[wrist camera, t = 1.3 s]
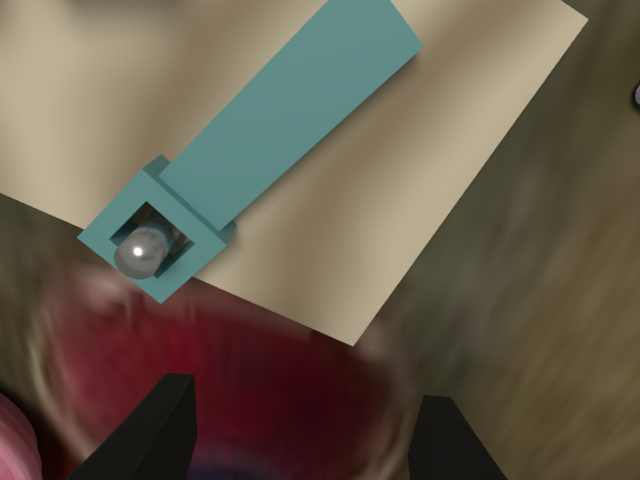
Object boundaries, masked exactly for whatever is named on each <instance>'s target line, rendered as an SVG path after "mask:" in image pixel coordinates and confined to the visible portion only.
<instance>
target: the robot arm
mask: <svg viewBox="0 0 640 480" xmlns="http://www.w3.org/2000/svg"><path fill="white" fill-rule="evenodd" d="M635 99H636V102H637V103H638V104H639V105H640V85H639V87H638V89H637V90H636V94H635ZM196 439H197V423H196V402H195V381H194V375H189V374H178V373H167V374H165V375H164V376H163V377H162V378H161V379H160V380H159V382H158V383H157V384H156V385H155V386H154V387H153V389H152V390H151V391H150V392H149V393H148V394H147V395H146V397H145V398H144V399H143V400H142V401H141V402H140V403H139V404H138V406H137V407H136V408H135V409H134V410H133V411H132V412H131V413H130V414H129V416H128V417H127V418H126V419H125V420H124V421H123V422H122V423H121V424H120V425H119V426H118V427H117V428H116V429H115V430H114V432H113V433H112V434H111V435H110V436H109V437H108V438H107V439H106V440H105V441H104V442H103V443H102V444H101V445H100V446H99V447H98V448H97V449H96V450H95V451H94V452H93V453H92V454H91V455H90V456H89V457H88V458H87V459H86V460H85V461H84V462H83V463H82V464H81V465H80V466H79V467H78V468H77V469H76V470H75V471H74V472H73V473H72V474H71V475H70V476H69V477H68V478H66V479H65V480H186V477H187V474H188V470H189V466H190V462H191V459H192V455H193V451H194V447H195V443H196ZM408 461H409V471H410V480H508V479H507V478H506V477H505V475H504V474H503V473H502V471H501V470H500V468H499V467H498V466H497V464H496V463H495V462H494V460H493V459H492V457H491V456H490V455H489V453H488V452H487V450H486V449H485V447H484V446H483V444H482V443H481V442H480V440H479V439H478V437H477V436H476V434H475V433H474V431H473V430H472V428H471V427H470V425H469V424H468V422H467V421H466V420H465V418H464V417H463V415H462V414H461V412H460V411H459V409H458V408H457V406H456V405H455V403H454V402H453V400H452V399H451V398H450V397H440V396H429V395H424V398H423V401H422V405H421V408H420V412H419V416H418V419H417V423H416V426H415V430H414V434H413V437H412V441H411V445H410V448H409V452H408Z"/></svg>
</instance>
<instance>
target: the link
mask: <svg viewBox="0 0 640 480" xmlns="http://www.w3.org/2000/svg"><path fill="white" fill-rule="evenodd" d="M423 47H424V45H423V44H422V43H421V41H420V40H419V39H418V37H417V36H416V34H415V33H414V32H413V30H412V29H411V28H410V26H409V25H408V24H407V22H406V21H405V19H404V18H403V17H402V15H401V14H400V13H399V11H398V10H397V9H396V7H395V6H394V5H393V3H392V2H391V0H328V1H327V2H326V3H325V4H324V5H323V6H322V7H321V8H320V9H319V10H318V11H317V12H316V13H315V14H314V15H313V16H312V17H311V18H310V19H309V20H308V21H307V22H306V23H305V24H304V25H303V27H302V28H301V29H300V30H299V31H298V32H297V33H296V34H295V35H294V36H293V37H292V38H291V39H290V40H289V41H288V42H287V43H286V44H285V45H284V46H283V47H282V48H281V49H280V50H279V51H278V52H277V53H276V54H275V55H274V57H273V58H272V59H271V60H270V61H269V62H268V63H267V64H266V65H265V66H264V67H263V68H262V69H261V70H260V71H259V72H258V73H257V74H256V75H255V76H254V77H253V78H252V79H251V80H250V81H249V82H248V83H247V84H246V85H245V87H244V88H243V89H242V90H241V91H240V92H239V93H238V94H237V95H236V96H235V97H234V98H233V99H232V100H231V101H230V102H229V103H228V104H227V105H226V106H225V107H224V108H223V109H222V110H221V111H220V112H219V113H218V114H217V115H216V116H215V118H214V119H213V120H212V121H211V122H210V123H209V124H208V125H207V126H206V127H205V128H204V129H203V130H202V131H201V132H200V133H199V134H198V135H197V136H196V137H195V138H194V139H193V140H192V141H191V142H190V143H189V144H188V145H187V146H186V148H185V149H184V150H183V151H182V152H181V153H180V154H179V155H178V156H177V157H176V158H175V159H174V160H173V161H172V162H171V163H170V162H169V161H168V160H167V159H166V158H164V157H163V156H162V155H159V156H158V157H157V158H155V159H154V160H153V161H151V162H150V163H149V164H147V165H146V166H145V167H143V168H142V169H141V170H140V171H139V172H138V173H137V174H136V175H135V176H134V177H133V179H132V180H131V181H130V182H129V183H128V184H127V185H126V186H125V187H124V188H123V189H122V190H121V191H120V192H119V193H118V194H117V196H116V197H115V198H114V199H113V200H112V201H111V202H110V203H109V204H108V205H107V206H106V207H105V208H104V209H103V210H102V212H101V213H100V214H99V215H98V216H97V217H96V218H95V219H94V220H93V221H92V222H91V223H90V224H89V225H88V226H87V227H86V229H85V230H84V231H83V232H82V233H81V234H80V235H79V236H78V237H77V238H78V239H79V240H81V241H82V242H83V243H84V244H86V245H87V246H88V247H89V248H91V249H92V250H93V251H95V252H96V253H97V254H98V255H100V256H101V257H102V258H103V259H105V260H106V261H107V262H109V263H110V264H111V265H112V266H114V267H115V268H116V269H117V270H119V269H118V268H117V266H116V265H115V262H114V253H115V250H116V249H117V248H118V247H119V246H120V245H121V243H122V242H123V241H124V240H125V239H126V238H127V237H128V236H129V235H130V234H131V233H132V232H133V231H134V230H135V229H136V228H137V227H138V226H137V225H136V224H135V223H134V222H133V221H131V220H130V218H131V217H132V216H133V215H134V214H135V213H136V212H137V211H138V210H139V209H140V208H141V207H142V206H143V205H144V204H145V203H146V202H148V203H149V204H150V205H152V206H153V207H154V208H155V209H156V210H157V211H158V212H160V213H161V214H162V215H163V216H164V217H165V218H166V219H168V220H169V221H170V222H171V223H172V224H173V225H174V226H176V227H177V228H178V229H179V230H180V231H181V232H182V233H184V234H185V235H186V236H187V237H188V238H189V239H190V241H189V242H188V243H186V244H185V245H184V246H183V247H182V248H181V249H180V250H179V251H178V252H177V253H176V254H175V255H172V254H170V253H168V255H167V256H166V257H165V259H164V260H163V262H162V263H161V264H160V266H159V267H158V269H157V270H156V271H155V273H154V274H153V275H152V276H151V277H149V278H147V279H142V280H137V279H132V278H129V277H128V278H129V279H130V280H131V281H133V282H134V283H135V284H136V285H138V286H139V287H140V288H141V289H143V290H144V291H145V292H147V293H148V294H149V295H150V296H152V297H153V298H154V299H155V300H157V301H158V302H159V303H160V304H161V303H162V302H163V301H165V300H166V299H167V298H168V297H169V296H170V295H171V294H173V293H174V292H175V291H176V290H177V289H178V288H179V287H180V286H182V285H183V284H184V283H185V282H186V281H187V280H188V279H190V278H191V277H192V276H193V275H194V274H195V273H196V272H198V271H199V270H200V269H201V268H202V267H203V266H204V265H205V264H207V263H208V262H209V261H210V260H211V259H212V258H213V257H215V256H216V255H217V254H218V253H219V252H220V251H221V250H222V249H224V248H225V247H226V246H227V245H228V242H229V240H230V238H231V236H232V234H233V232H234V230H235V228H236V226H237V224H236V223H234V222H233V221H232V219H233V218H234V217H236V216H237V215H238V214H239V213H240V212H241V211H242V210H243V209H244V208H246V207H247V206H248V205H249V204H250V203H251V202H252V201H253V200H254V199H255V198H257V197H258V196H259V195H260V194H261V193H262V192H263V191H264V190H265V189H267V188H268V187H269V186H270V185H271V184H272V183H273V182H274V181H275V180H277V179H278V178H279V177H280V176H281V175H282V174H283V173H284V172H285V171H286V170H288V169H289V168H290V167H291V166H292V165H293V164H294V163H295V162H296V161H298V160H299V159H300V158H301V157H302V156H303V155H304V154H305V153H306V152H307V151H309V150H310V149H311V148H312V147H313V146H314V145H315V144H316V143H317V142H319V141H320V140H321V139H322V138H323V137H324V136H325V135H326V134H327V133H329V132H330V131H331V130H332V129H333V128H334V127H335V126H336V125H337V124H338V123H340V122H341V121H342V120H343V119H344V118H345V117H346V116H347V115H348V114H350V113H351V112H352V111H353V110H354V109H355V108H356V107H357V106H358V105H359V104H361V103H362V102H363V101H364V100H365V99H366V98H367V97H368V96H369V95H371V94H372V93H373V92H374V91H375V90H376V89H377V88H378V87H379V86H380V85H382V84H383V83H384V82H385V81H386V80H387V79H388V78H389V77H390V76H392V75H393V74H394V73H395V72H396V71H397V70H398V69H399V68H400V67H402V66H403V65H404V64H405V63H406V62H407V61H408V60H409V59H410V58H411V57H413V56H414V55H415V54H416V53H417V52H418V51H419V50H420V49H421V48H423ZM121 273H122V272H121ZM122 274H123V273H122ZM125 276H126V275H125ZM126 277H127V276H126Z"/></svg>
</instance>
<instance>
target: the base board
mask: <svg viewBox="0 0 640 480" xmlns="http://www.w3.org/2000/svg"><path fill="white" fill-rule="evenodd" d="M327 1H328V0H0V193H2V194H4V195H7V196H9V197H11V198H14V199H16V200H18V201H20V202H23V203H25V204H27V205H30V206H32V207H34V208H37V209H39V210H41V211H43V212H46V213H48V214H50V215H53V216H55V217H57V218H60V219H62V220H64V221H66V222H69V223H71V224H73V225H76V226H78V227H80V228H83V229H86V227H87V226H88V225H89V224H90V223H91V222H92V221H93V220H94V219H95V218H96V217H97V216H98V215H99V214H100V213H101V212H102V210H103V209H104V208H105V207H106V206H107V205H108V204H109V203H110V202H111V201H112V200H113V199H114V198H115V197H116V196H117V194H118V193H119V192H120V191H121V190H122V189H123V188H124V187H125V186H126V185H127V184H128V183H129V182H130V181H131V180H132V179H133V177H134V176H135V175H136V174H137V173H138V172H139V171H140V170H141V169H142V168H143V167H145V166H146V165H147V164H149V163H150V162H151V161H153V160H154V159H155V158H157V157H158V156H159V155H162V156H163V157H164V158H166V159H167V160H168V161H169V162H170V163H171V162H172V161H173V160H174V159H175V158H176V157H177V156H178V155H179V154H180V153H181V152H182V151H183V150H184V149H185V148H186V146H187V145H188V144H189V143H190V142H191V141H192V140H193V139H194V138H195V137H196V136H197V135H198V134H199V133H200V132H201V131H202V130H203V129H204V128H205V127H206V126H207V125H208V124H209V123H210V122H211V121H212V120H213V119H214V118H215V116H216V115H217V114H218V113H219V112H220V111H221V110H222V109H223V108H224V107H225V106H226V105H227V104H228V103H229V102H230V101H231V100H232V99H233V98H234V97H235V96H236V95H237V94H238V93H239V92H240V91H241V90H242V89H243V88H244V87H245V85H246V84H247V83H248V82H249V81H250V80H251V79H252V78H253V77H254V76H255V75H256V74H257V73H258V72H259V71H260V70H261V69H262V68H263V67H264V66H265V65H266V64H267V63H268V62H269V61H270V60H271V59H272V58H273V57H274V55H275V54H276V53H277V52H278V51H279V50H280V49H281V48H282V47H283V46H284V45H285V44H286V43H287V42H288V41H289V40H290V39H291V38H292V37H293V36H294V35H295V34H296V33H297V32H298V31H299V30H300V29H301V28H302V27H303V25H304V24H305V23H306V22H307V21H308V20H309V19H310V18H311V17H312V16H313V15H314V14H315V13H316V12H317V11H318V10H319V9H320V8H321V7H322V6H323V5H324V4H325V3H326V2H327ZM391 2H392V3H393V5H394V6H395V7H396V9H397V10H398V11H399V13H400V14H401V15H402V17H403V18H404V19H405V21H406V22H407V24H408V25H409V26H410V28H411V29H412V30H413V32H414V33H415V34H416V36H417V37H418V39H419V40H420V41H421V43H422V44H423V45H424V47H423V48H421V49H420V50H419V51H418V52H417V53H416V54H415V55H414V56H413V57H411V58H410V59H409V60H408V61H407V62H406V63H405V64H404V65H403V66H402V67H400V68H399V69H398V70H397V71H396V72H395V73H394V74H393V75H392V76H390V77H389V78H388V79H387V80H386V81H385V82H384V83H383V84H382V85H380V86H379V87H378V88H377V89H376V90H375V91H374V92H373V93H372V94H371V95H369V96H368V97H367V98H366V99H365V100H364V101H363V102H362V103H361V104H359V105H358V106H357V107H356V108H355V109H354V110H353V111H352V112H351V113H350V114H348V115H347V116H346V117H345V118H344V119H343V120H342V121H341V122H340V123H338V124H337V125H336V126H335V127H334V128H333V129H332V130H331V131H330V132H329V133H327V134H326V135H325V136H324V137H323V138H322V139H321V140H320V141H319V142H317V143H316V144H315V145H314V146H313V147H312V148H311V149H310V150H309V151H307V152H306V153H305V154H304V155H303V156H302V157H301V158H300V159H299V160H298V161H296V162H295V163H294V164H293V165H292V166H291V167H290V168H289V169H288V170H286V171H285V172H284V173H283V174H282V175H281V176H280V177H279V178H278V179H277V180H275V181H274V182H273V183H272V184H271V185H270V186H269V187H268V188H267V189H265V190H264V191H263V192H262V193H261V194H260V195H259V196H258V197H257V198H255V199H254V200H253V201H252V202H251V203H250V204H249V205H248V206H247V207H246V208H244V209H243V210H242V211H241V212H240V213H239V214H238V215H237V216H236V217H234V218H233V219H232V221H233V222H234V223H236V224H237V226H236V228H235V230H234V232H233V234H232V236H231V238H230V240H229V242H228V245H227V246H226V247H225V248H224V249H222V250H221V251H220V252H219V253H218V254H217V255H216V256H215V257H213V258H212V259H211V260H210V261H209V262H208V263H207V264H205V265H204V266H203V267H202V268H201V269H200V270H199V271H198V272H196V273H195V274H194V275H193V277H195V278H197V279H200V280H202V281H204V282H207V283H209V284H211V285H213V286H216V287H218V288H220V289H223V290H225V291H227V292H230V293H232V294H234V295H236V296H239V297H241V298H243V299H246V300H248V301H250V302H252V303H255V304H257V305H259V306H262V307H264V308H266V309H269V310H271V311H273V312H275V313H278V314H280V315H282V316H285V317H287V318H289V319H292V320H294V321H296V322H298V323H301V324H303V325H305V326H308V327H310V328H312V329H315V330H317V331H319V332H321V333H324V334H326V335H328V336H331V337H333V338H335V339H337V340H340V341H342V342H344V343H347V344H349V345H351V346H354V344H355V343H356V342H357V340H358V339H359V337H360V336H361V335H362V333H363V332H364V330H365V329H366V328H367V326H368V325H369V324H370V322H371V321H372V319H373V318H374V317H375V315H376V314H377V312H378V311H379V310H380V308H381V307H382V305H383V304H384V303H385V301H386V300H387V299H388V297H389V296H390V294H391V293H392V292H393V290H394V289H395V287H396V286H397V285H398V283H399V282H400V280H401V279H402V278H403V276H404V275H405V274H406V272H407V271H408V269H409V268H410V267H411V265H412V264H413V262H414V261H415V260H416V258H417V257H418V255H419V254H420V253H421V251H422V250H423V249H424V247H425V246H426V244H427V243H428V242H429V240H430V239H431V237H432V236H433V235H434V233H435V232H436V230H437V229H438V228H439V226H440V225H441V224H442V222H443V221H444V219H445V218H446V217H447V215H448V214H449V212H450V211H451V210H452V208H453V207H454V205H455V204H456V203H457V201H458V200H459V199H460V197H461V196H462V194H463V193H464V192H465V190H466V189H467V187H468V186H469V185H470V183H471V182H472V180H473V179H474V178H475V176H476V175H477V174H478V172H479V171H480V169H481V168H482V167H483V165H484V164H485V162H486V161H487V160H488V158H489V157H490V155H491V154H492V153H493V151H494V150H495V149H496V147H497V146H498V144H499V143H500V142H501V140H502V139H503V137H504V136H505V135H506V133H507V132H508V130H509V129H510V128H511V126H512V125H513V124H514V122H515V121H516V119H517V118H518V117H519V115H520V114H521V112H522V111H523V110H524V108H525V107H526V105H527V104H528V103H529V101H530V100H531V99H532V97H533V96H534V94H535V93H536V92H537V90H538V89H539V87H540V86H541V85H542V83H543V82H544V80H545V79H546V78H547V76H548V75H549V74H550V72H551V71H552V69H553V68H554V67H555V65H556V64H557V62H558V61H559V60H560V58H561V57H562V55H563V54H564V53H565V51H566V50H567V49H568V47H569V46H570V44H571V43H572V42H573V40H574V39H575V37H576V36H577V35H578V33H579V32H580V30H581V29H582V28H583V26H584V25H585V24H586V22H587V21H588V19H587V18H586V17H584V16H583V15H581V14H580V13H578V12H577V11H576V10H574V9H573V8H571V7H570V6H568V5H567V4H565V3H564V2H562V1H561V0H391ZM154 209H155V208H154V207H153V206H152V205H150V204H149V203H148V202H146V203H145V204H144V205H143V206H142V207H141V208H140V209H139V210H138V211H137V212H136V213H135V214H134V215H133V216H132V217H131V218H130V220H131V221H133V222H134V223H135V224H136V225H137V226H139V225H140V224H141V223H142V222H143V221H144V220H145V219H146V218H147V217H148V216H149V215H150V214H151V213H152V212H153V210H154ZM189 241H190V239H189V238H188V237H187V236H186V235H185V234H184V233H183V234H182V235H181V237H180V238H179V239H178V241H177V242H176V244H175V245H174V246H173V248H172V249H171V250H170V252H169V253H170V254H172V255H175V254H176V253H177V252H178V251H179V250H180V249H181V248H182V247H183V246H184V245H185V244H186V243H188V242H189Z"/></svg>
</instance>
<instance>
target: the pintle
mask: <svg viewBox="0 0 640 480" xmlns="http://www.w3.org/2000/svg"><path fill="white" fill-rule="evenodd" d="M182 234H183V233H182V232H181V231H180V230H179V229H178V228H177V227H176V226H174V225H173V224H172V223H171V222H170V221H169V220H168V219H166V218H165V217H164V216H163V215H162V214H161V213H160V212H158V211H157V210H156V209H154V210H153V212H152V213H151V214H150V215H149V216H148V217H147V218H146V219H145V220H144V221H143V222H142V223H141V224H140V225H139V226H138V227H137V228H136V229H135V230H134V231H133V232H132V233H131V234H130V235H129V236H128V237H127V238H126V239H125V240H124V241H123V242H122V243H121V245H120V246H119V247H118V248H117V249H116V250H115V253H114V262H115V265H116V266H117V268H118V269H119V271H120V272H122V273H123V274H124V275H126V276H127V277H129V278H132V279H137V280H142V279H147V278H149V277H151V276H152V275H153V274H154V273H155V271H156V270H157V269H158V267H159V266H160V264H161V263H162V262H163V260H164V259H165V257H166V256H167V255H168V253H169V252H170V250H171V249H172V248H173V246H174V245H175V244H176V242H177V241H178V239H179V238H180V237H181V235H182Z"/></svg>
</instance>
